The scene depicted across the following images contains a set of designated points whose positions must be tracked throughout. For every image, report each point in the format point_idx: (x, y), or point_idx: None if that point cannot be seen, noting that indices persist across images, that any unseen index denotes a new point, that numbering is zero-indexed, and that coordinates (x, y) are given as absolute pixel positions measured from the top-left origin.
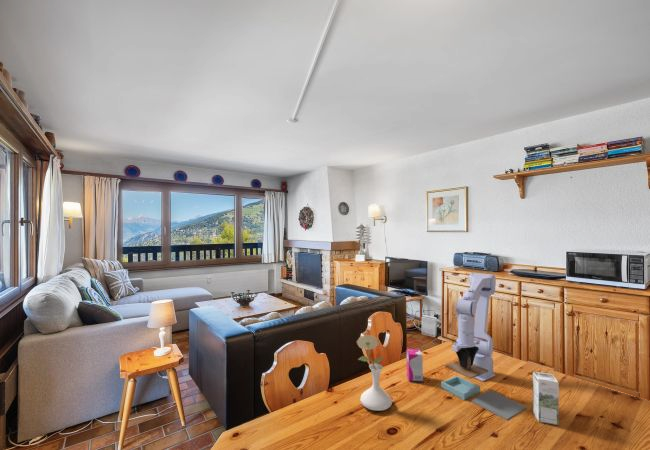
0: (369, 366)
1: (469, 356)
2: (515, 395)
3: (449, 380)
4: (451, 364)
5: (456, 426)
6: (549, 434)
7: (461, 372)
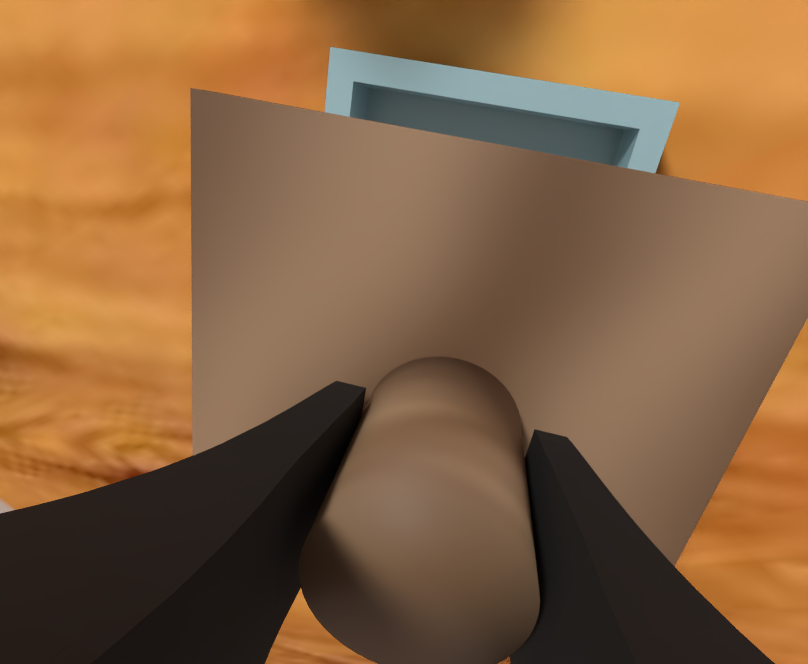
0: None
1: (544, 642)
2: (730, 588)
3: (463, 99)
4: (352, 169)
5: (23, 395)
6: None
7: (205, 430)
